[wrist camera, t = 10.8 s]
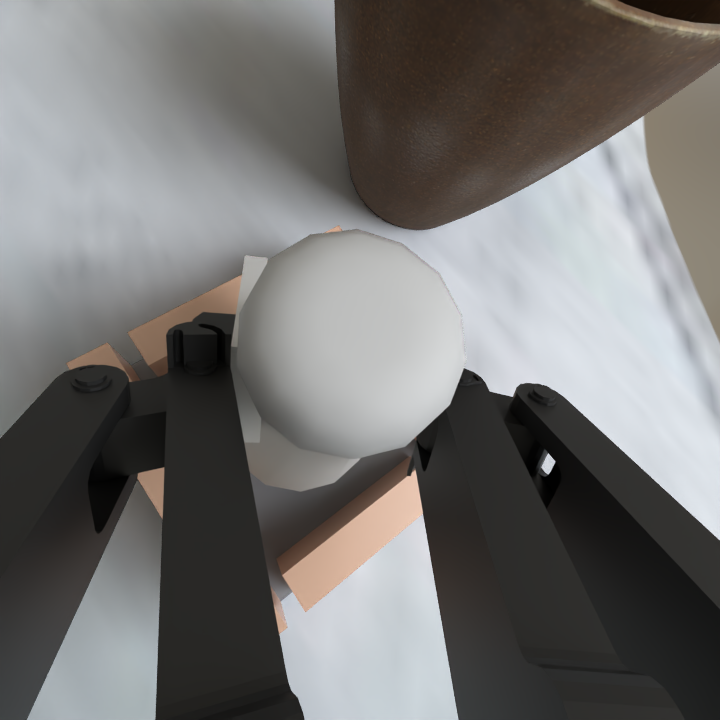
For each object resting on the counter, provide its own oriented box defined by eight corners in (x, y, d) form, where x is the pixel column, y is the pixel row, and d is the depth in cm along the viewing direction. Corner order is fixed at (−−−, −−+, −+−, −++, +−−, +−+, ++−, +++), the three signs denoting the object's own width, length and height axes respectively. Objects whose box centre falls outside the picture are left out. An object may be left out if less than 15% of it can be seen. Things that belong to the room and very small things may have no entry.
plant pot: (527, 123, 31) (792, -216, 16) (511, 319, 26) (857, 108, 11) (317, 45, 28) (396, -449, 13) (260, 249, 24) (281, -147, 9)
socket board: (105, 388, 20) (66, 363, 16) (322, 271, 24) (338, 225, 20) (249, 618, 19) (249, 659, 15) (450, 456, 23) (497, 451, 19)
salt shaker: (342, 348, 21) (472, 163, 9) (373, 469, 20) (570, 449, 8) (214, 371, 19) (156, 184, 7) (239, 505, 18) (221, 554, 6)
